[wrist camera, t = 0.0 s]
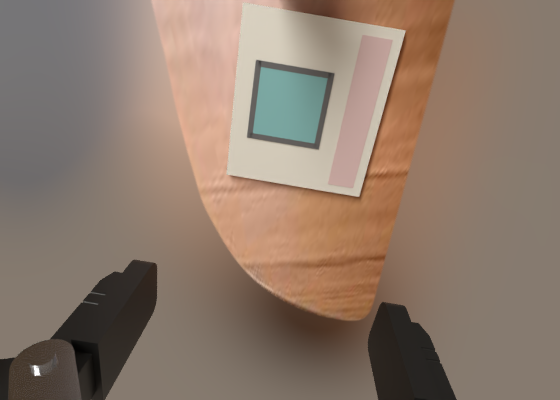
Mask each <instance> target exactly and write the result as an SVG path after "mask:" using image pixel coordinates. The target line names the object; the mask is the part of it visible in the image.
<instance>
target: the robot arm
mask: <svg viewBox="0 0 560 400" xmlns="http://www.w3.org/2000/svg"><path fill="white" fill-rule="evenodd" d="M156 299H157V265H156V264H155V263H151V262H145V261H139V260H133V261H132V262H131V263H130V264H129V265H128V267H127V268H126V269H125V270H124V272H123V273H119V272H113V273H112V274H110V275H108V276H107V277H105V278H103V279H102V280H100V281H99V283H98V284H97V285H96V286H95V287H94V288H93V290H92V291H91V293H90V294H88V296H87V297H86V298H85V299H84V300H83V303H81V304H80V305H79V306H78V307H77V308H76V309H75V311H74V312H73V313H72V314H71V315H70V316H69V318H68V319H67V320H66V321H65V322H64V323H63V325H62V326H61V327H60V328H59V329H58V331H57V332H56V333H55V334H54V335H53V336H52V338H51V339H50V340H44V341H41V342H38V343H36V344H33V345H31V346H29V347H27V348H26V349H24V350H23V351H22V352H20V353H19V354H18V355H17V356H16V357H15V358H8V359H0V400H105V399H106V397H107V395H108V393H109V391H110V389H111V388H112V386H113V384H114V382H115V380H116V379H117V377H118V375H119V373H120V372H121V370H122V368H123V366H124V364H125V363H126V361H127V359H128V357H129V355H130V353H131V351H132V350H133V348H134V346H135V345H136V343H137V341H138V339H139V337H140V336H141V334H142V332H143V330H144V329H145V327H146V325H147V323H148V321H149V320H150V318H151V316H152V314H153V312H154V309H155V305H156ZM368 352H369V357H370V362H371V366H372V372H373V376H374V381H375V386H376V391H377V395H378V400H457V399H456V397H455V395H454V392H453V390H452V388H451V386H450V383H449V381H448V378H447V376H446V374H445V372H444V369H443V367H442V364H440V360H439V357H438V355H437V353H436V352H435V348H434V346H433V343H432V341H431V338H430V336H429V335H428V334H427V333H426V331H425V330H424V329H423V328H422V327H421V326H420V324H418V323H413V322H411V320H410V317H409V314H408V312H407V309H406V307H405V306H403V305H397V304H391V303H386V302H382V303H381V304H380V306H379V309H378V311H377V314H376V317H375V320H374V323H373V325H372V328H371V331H370V334H369V339H368Z"/></svg>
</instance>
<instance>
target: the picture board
mask: <svg viewBox="0 0 560 400" xmlns="http://www.w3.org/2000/svg"><path fill="white" fill-rule="evenodd" d="M405 31H406V30H400V29H394V28H388V27H383V26H377V25H371V24H365V23H360V22H354V21H348V20H342V19H336V18H331V17H325V16H319V15H313V14H308V13H302V12H296V11H290V10H285V9H279V8H273V7H267V6H262V5H256V4H250V3H244V2H243V8H242V18H241V29H240V39H239V50H238V60H237V70H236V81H235V91H234V102H233V112H232V123H231V133H230V144H229V154H228V164H227V175H233V176H238V177H244V178H250V179H256V180H262V181H268V182H274V183H280V184H286V185H292V186H298V187H303V188H309V189H315V190H321V191H327V192H333V193H339V194H345V195H351V196H357V197H359V195H360V192H361V188H362V185H363V181H364V177H365V174H366V170H367V167H368V163H369V160H370V156H371V153H372V149H373V145H374V142H375V138H376V135H377V131H378V128H379V124H380V120H381V117H382V113H383V110H384V106H385V103H386V99H387V95H388V92H389V88H390V85H391V81H392V78H393V74H394V71H395V67H396V63H397V60H398V56H399V53H400V49H401V46H402V42H403V38H404V35H405Z"/></svg>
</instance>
